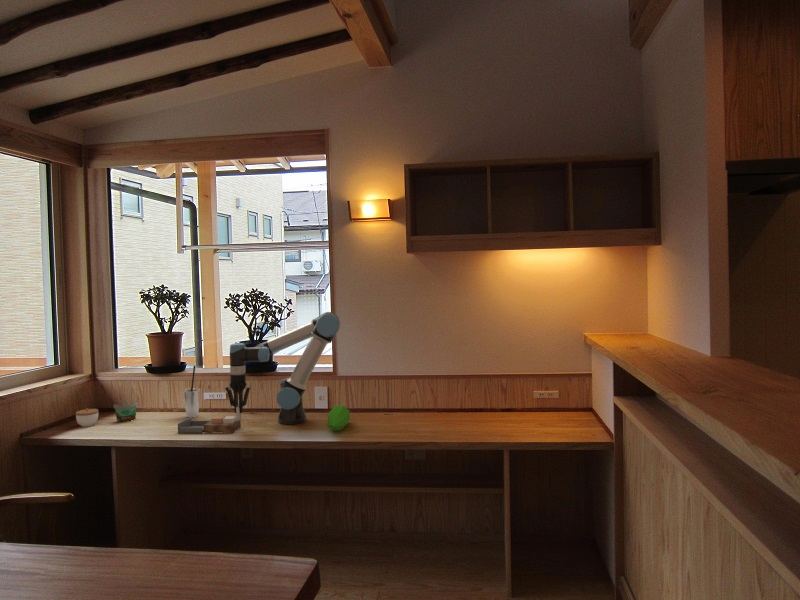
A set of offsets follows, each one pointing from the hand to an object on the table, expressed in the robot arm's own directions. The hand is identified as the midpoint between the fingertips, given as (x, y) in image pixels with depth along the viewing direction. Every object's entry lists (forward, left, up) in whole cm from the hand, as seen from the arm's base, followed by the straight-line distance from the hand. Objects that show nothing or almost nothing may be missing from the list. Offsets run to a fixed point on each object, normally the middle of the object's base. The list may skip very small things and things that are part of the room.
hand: (238, 419), depth 275 cm
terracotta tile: (+11, 0, -2) cm, 11 cm away
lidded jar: (+87, -7, -6) cm, 88 cm away
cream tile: (+5, 0, -2) cm, 5 cm away
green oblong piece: (-51, -2, -6) cm, 51 cm away
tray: (+23, 0, -6) cm, 24 cm away
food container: (+70, -16, -6) cm, 72 cm away
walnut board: (+9, 0, -6) cm, 10 cm away
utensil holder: (+37, -26, -6) cm, 46 cm away
